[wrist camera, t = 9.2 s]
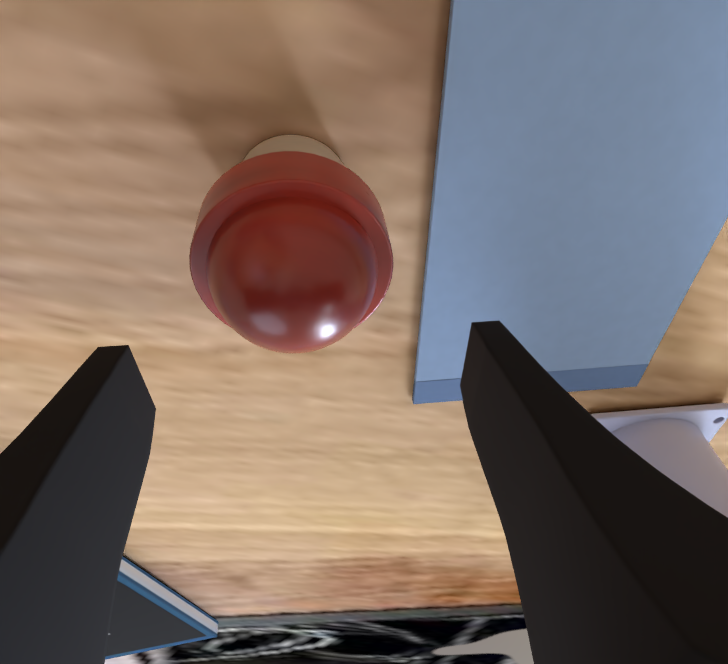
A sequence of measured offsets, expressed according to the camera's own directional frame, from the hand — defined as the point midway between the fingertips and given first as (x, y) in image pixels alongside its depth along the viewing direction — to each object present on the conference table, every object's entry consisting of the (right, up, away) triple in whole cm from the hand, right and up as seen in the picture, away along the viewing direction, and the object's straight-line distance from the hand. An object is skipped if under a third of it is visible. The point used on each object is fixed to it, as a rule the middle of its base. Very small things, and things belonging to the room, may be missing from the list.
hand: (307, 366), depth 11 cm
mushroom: (-1, +5, +5) cm, 8 cm away
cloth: (+9, +5, +7) cm, 13 cm away
